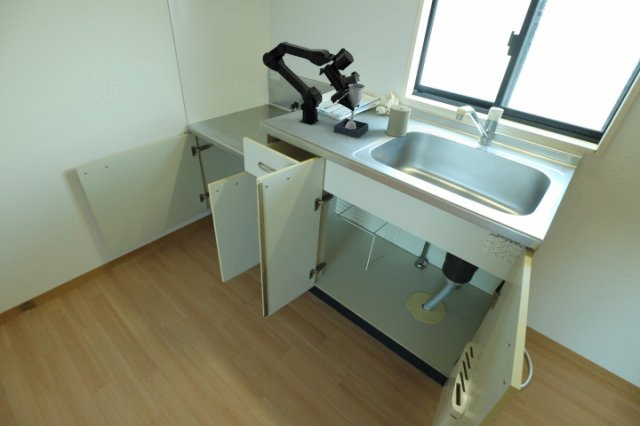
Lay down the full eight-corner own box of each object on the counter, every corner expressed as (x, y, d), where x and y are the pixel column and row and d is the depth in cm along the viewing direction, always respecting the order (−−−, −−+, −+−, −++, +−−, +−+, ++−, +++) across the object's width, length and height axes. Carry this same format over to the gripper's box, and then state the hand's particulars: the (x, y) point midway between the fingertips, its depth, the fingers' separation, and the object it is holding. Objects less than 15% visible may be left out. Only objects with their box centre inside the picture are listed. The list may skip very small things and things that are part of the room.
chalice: (353, 131, 143) (359, 88, 133) (340, 127, 146) (345, 85, 136) (361, 126, 148) (367, 85, 138) (348, 122, 151) (353, 82, 141)
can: (387, 136, 145) (392, 109, 138) (384, 128, 153) (388, 102, 146) (408, 137, 145) (414, 110, 138) (403, 129, 153) (409, 103, 146)
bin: (333, 131, 146) (334, 125, 144) (345, 124, 154) (345, 118, 153) (357, 138, 142) (358, 131, 140) (367, 129, 150) (368, 123, 148)
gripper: (340, 69, 127) (363, 103, 130) (357, 61, 140) (377, 92, 143) (320, 86, 134) (342, 118, 137) (338, 77, 148) (358, 106, 151)
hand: (356, 108), depth 142 cm, fingers closed on chalice, 6 cm apart
